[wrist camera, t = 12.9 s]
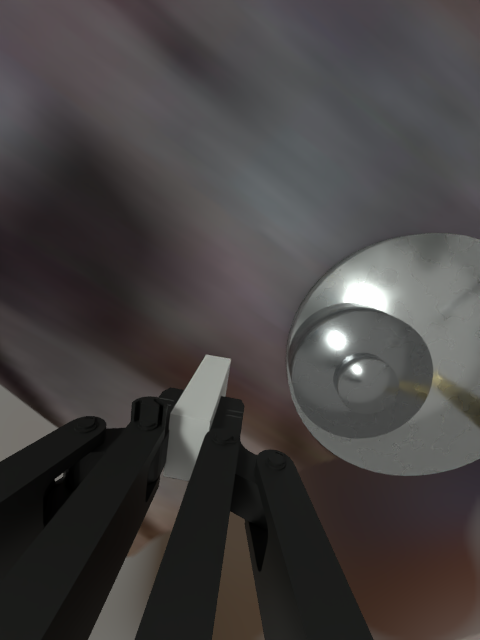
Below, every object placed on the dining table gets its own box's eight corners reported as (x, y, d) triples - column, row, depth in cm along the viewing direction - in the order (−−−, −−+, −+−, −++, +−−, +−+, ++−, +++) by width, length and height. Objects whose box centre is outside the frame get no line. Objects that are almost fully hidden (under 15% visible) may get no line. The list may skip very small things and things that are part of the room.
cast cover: (353, 430, 26) (376, 475, 21) (265, 370, 26) (266, 400, 20) (431, 347, 24) (479, 373, 19) (336, 278, 23) (359, 285, 18)
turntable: (413, 498, 30) (477, 600, 21) (240, 380, 28) (230, 437, 19) (604, 322, 24) (795, 361, 16) (403, 167, 23) (491, 113, 14)
